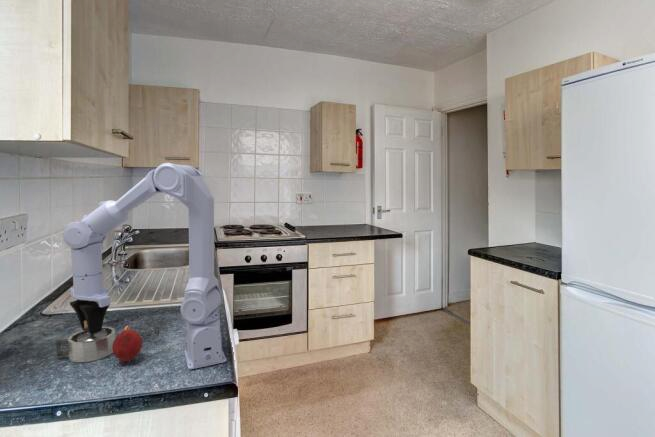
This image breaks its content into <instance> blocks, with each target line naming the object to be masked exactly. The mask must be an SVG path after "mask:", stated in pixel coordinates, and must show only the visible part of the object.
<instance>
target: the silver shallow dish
mask: <svg viewBox="0 0 655 437" xmlns="http://www.w3.org/2000/svg"><path fill="white" fill-rule="evenodd" d="M101 331H106V332H107V334H108V336H106V337H104V338H101V339H98V340H94V341H88V342H77V337H78V336H80V335H82V334H84V333H87V332H89V331H83V329H82V330H79V331H77V332H75V333H73V334H71V335H69V336H68V338H66V339H60V340H59V339H58V340H56V342H55V343H56V344H55V346H56V347H55V348H56V357H57V358H60V357H66V356H68V358H69V360H70V361H71V362H72V363H77V364H81V363H91V362H96V361H99V360H102V359H104V358H107V357H109V356H110V355H112V354H114V353H113V349H112V347H113V342H114V340H115V338H116V337H117V336H116V328H114V327H111V326H102V329H101ZM65 345H67V349H66V350H63V346H65Z"/></svg>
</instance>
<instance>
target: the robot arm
mask: <svg viewBox="0 0 655 437" xmlns="http://www.w3.org/2000/svg"><path fill="white" fill-rule="evenodd" d="M163 193H165V194H167V195H169V196H172V197H174V198H176V199H177V200H179V202H181V203H182V204H183V205H184V206H186V208H187V209H188V263H189V264H188V266H189V267H188V271H189V272H188V275H189V278H188V281H187V284H186V286H185V288H184V296H183V300H182V302H181V305H180V309H179V310H180V314H181V316H182V318H183V319H184V320H185V321H186V322H185V323H186V326H185V327H186V346H187V347H186V348H185V349H184V350H183V351H184V356H185V361H186V365H187V370H194V369H195V370H196V369H199V368H203V367H209V366H214V365H217V364H223V363H226V362H227V357H226V355H225V353H224V350H223V347H222V346H223V345H222V335H221V317H220V316H221V315H220V310H219V307H220V306H221V305H222V303H223V299H224V296H223V292H222V290H221V289H220V282H219V279H218V278H217V277H216V276H215V201H214V200H215V199H214V196H213V193H212V192H211V191H210V189H209V187H208V186H207V183H206V181H205V180H204V175H203V173H201V172H200V171H199V170H198V169H196V168H195V167H194V166H192V165H189V164H175V163H171V162H164V163H161V164H160V165H158V166H157V167H156V168H154V169H152V170H150V171H149V172H148V173H147V174H146V175H145V176H144V177H143V178H142V179H141V180H140V181H139V182H137V183H136V184H135V185H134V186H133V187H131V188H130V189H129V190H128V191H127V192H125V193H124V194H123V195H122V196H121V197H120V198H118V199H117V200H110V199H109V200H106V201H105V200H104V201H100V202H99V203H98V204H97V206H98V207H97V208H96V209H95V210H93V211H91V213H89V214H84V215H83V216H82V219H81V221H71V222H69V223H68V225H67V226H65V228H64V229H63V233H62V237H63V241H64V242H65V244H66V246H68V247H70V252H71V254H70V258H71V269H72V270H71V271H72V280H73V283H72V284H73V287H70V291H69V292H70V297H73V299H74V300H72V301H70V302H69V305H70V306H71V307H72V309H73V311H74V312H75V314H76V316H77V319H78V321H79V324H80V327H81V329H82V330H83V331H85V330H84V320H85V319H86V321H87V326H88V330H89V332H90V334H94V333H97V332H100V331H101V329H102V327H103V324H104V323H103V322H104V319H105V316H106V313H107V311H108V308H109V307H110V306H111V296H109V295H108V294H107V293H109V292H110V288H108V287H105V284H104V269H103V268H104V267H103V254H102V253H103V252H102V250H103V249H104V248H103V247H104V246H103V244H104V242H105V240H106V239H107V236H108V235H109V234H110V233H112V232H113V231H115V230H116V229H117V228H118V227H119V226H121V225H123V224H124V223H125V222H127V220H128V219H129V218H128V217H129V212H130V211H132V210H134V209H135V208H137V207H138V206H140V205H141V204H143V203H144V202H146V201H147V200H148V199H151V198H152V197H154V196H155V195H156V194H163Z"/></svg>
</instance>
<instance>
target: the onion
mask: <svg viewBox="0 0 655 437" xmlns="http://www.w3.org/2000/svg"><path fill="white" fill-rule="evenodd" d="M142 348H143V339H142V337H141V335H140V334H139V333H138V332H137V331H135V330H133V329H131V326H129V325H126V326H125V327H124V328H123V330H122V331H121V332H120V333H119V334H118V335H117V336H116V338H115V340H114V342H113V347H112V349H113V353H112V354H113V355H114V357H115V358H117V359H119V360H120V361H122V362H131V361H132V360H133V359H135V358H136V357H137V356H138V355H139V353H140V352H141V350H142Z"/></svg>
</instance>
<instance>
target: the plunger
mask: <svg viewBox="0 0 655 437" xmlns="http://www.w3.org/2000/svg"><path fill="white" fill-rule="evenodd" d="M84 330H85V331H89V330H88V326H87V321H86V319H85V320H84ZM106 336H108V334H107V332H106V331H100V332H97V333H94V334H90V332H87V333H84V334H82V335H80V336H78V337H77V342H88V341H94V340H98V339H101V338H104V337H106Z"/></svg>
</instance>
